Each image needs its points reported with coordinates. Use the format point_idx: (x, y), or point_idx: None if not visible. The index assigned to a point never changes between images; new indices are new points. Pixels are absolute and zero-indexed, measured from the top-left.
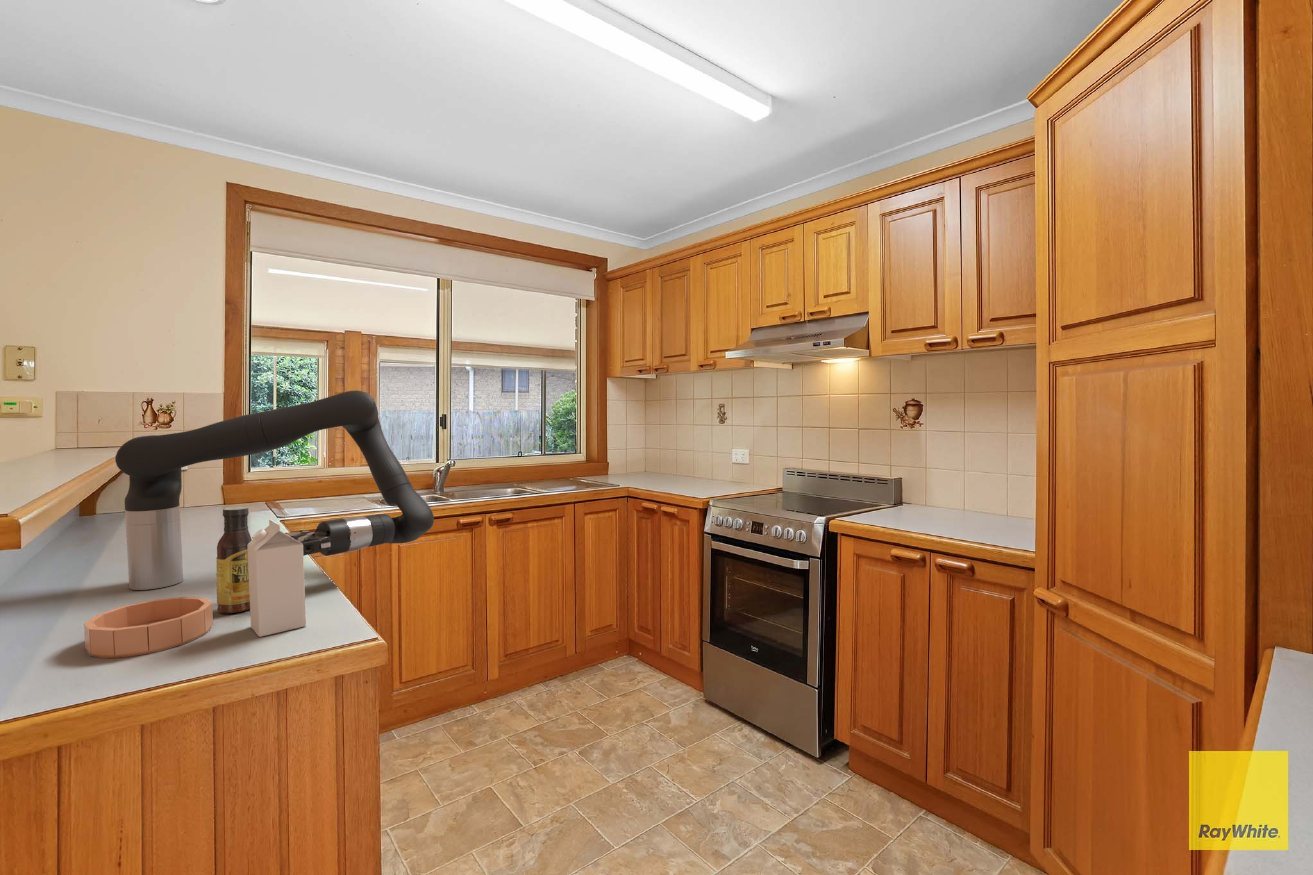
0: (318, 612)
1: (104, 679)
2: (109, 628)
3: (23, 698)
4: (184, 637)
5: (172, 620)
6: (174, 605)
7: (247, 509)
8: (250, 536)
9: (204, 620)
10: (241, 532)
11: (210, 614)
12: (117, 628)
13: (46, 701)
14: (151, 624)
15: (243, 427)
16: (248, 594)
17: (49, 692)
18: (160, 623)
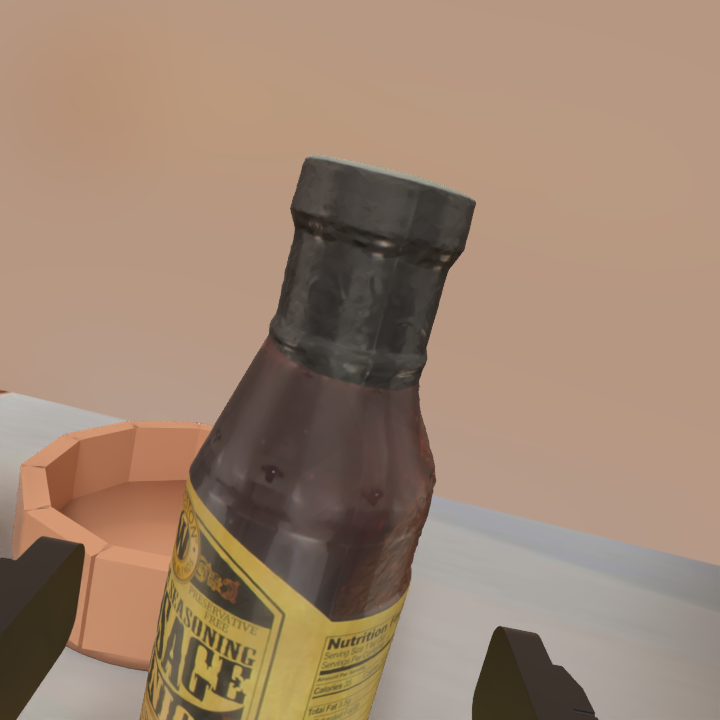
0: None
1: (6, 447)
2: (155, 425)
3: (81, 414)
4: (13, 533)
5: (35, 457)
6: None
7: (335, 175)
8: (279, 428)
9: (21, 552)
10: (260, 349)
11: None
12: (134, 426)
13: (20, 411)
14: (68, 439)
15: None
16: None
17: (60, 423)
18: (48, 445)
